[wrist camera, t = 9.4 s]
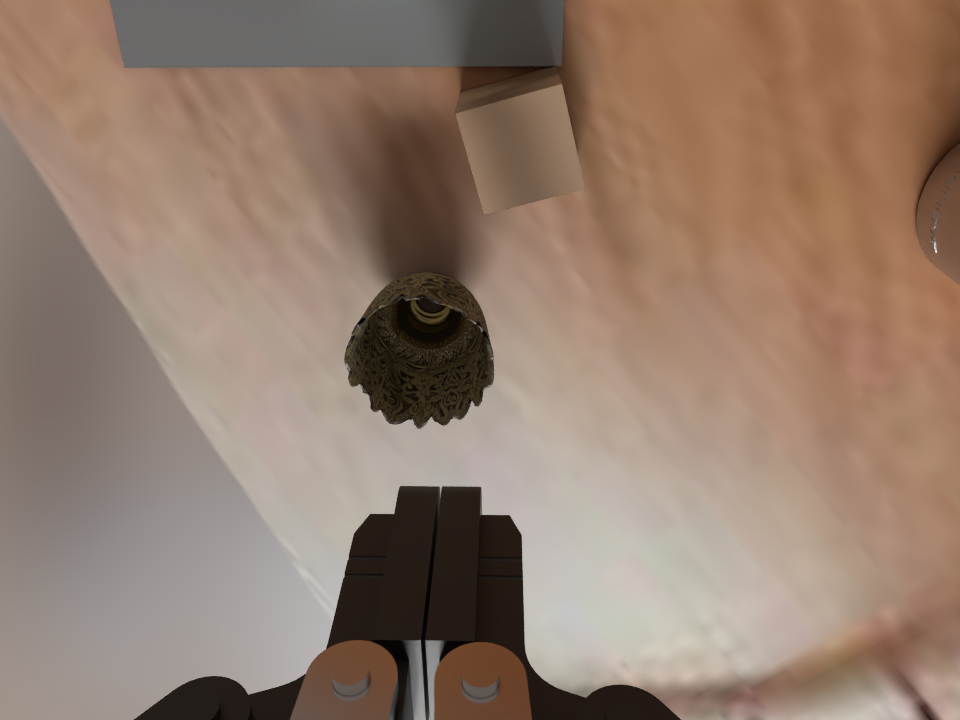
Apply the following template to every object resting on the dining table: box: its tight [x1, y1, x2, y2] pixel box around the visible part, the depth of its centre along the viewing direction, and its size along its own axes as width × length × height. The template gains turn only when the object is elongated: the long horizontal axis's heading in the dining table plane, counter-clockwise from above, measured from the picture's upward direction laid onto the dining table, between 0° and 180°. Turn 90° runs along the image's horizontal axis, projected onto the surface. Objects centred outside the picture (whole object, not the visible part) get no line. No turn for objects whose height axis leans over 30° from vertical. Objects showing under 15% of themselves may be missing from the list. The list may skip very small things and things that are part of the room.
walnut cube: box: [455, 66, 585, 215], centre depth 40 cm, size 5×5×5 cm
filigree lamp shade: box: [344, 272, 494, 429], centre depth 43 cm, size 8×7×8 cm
